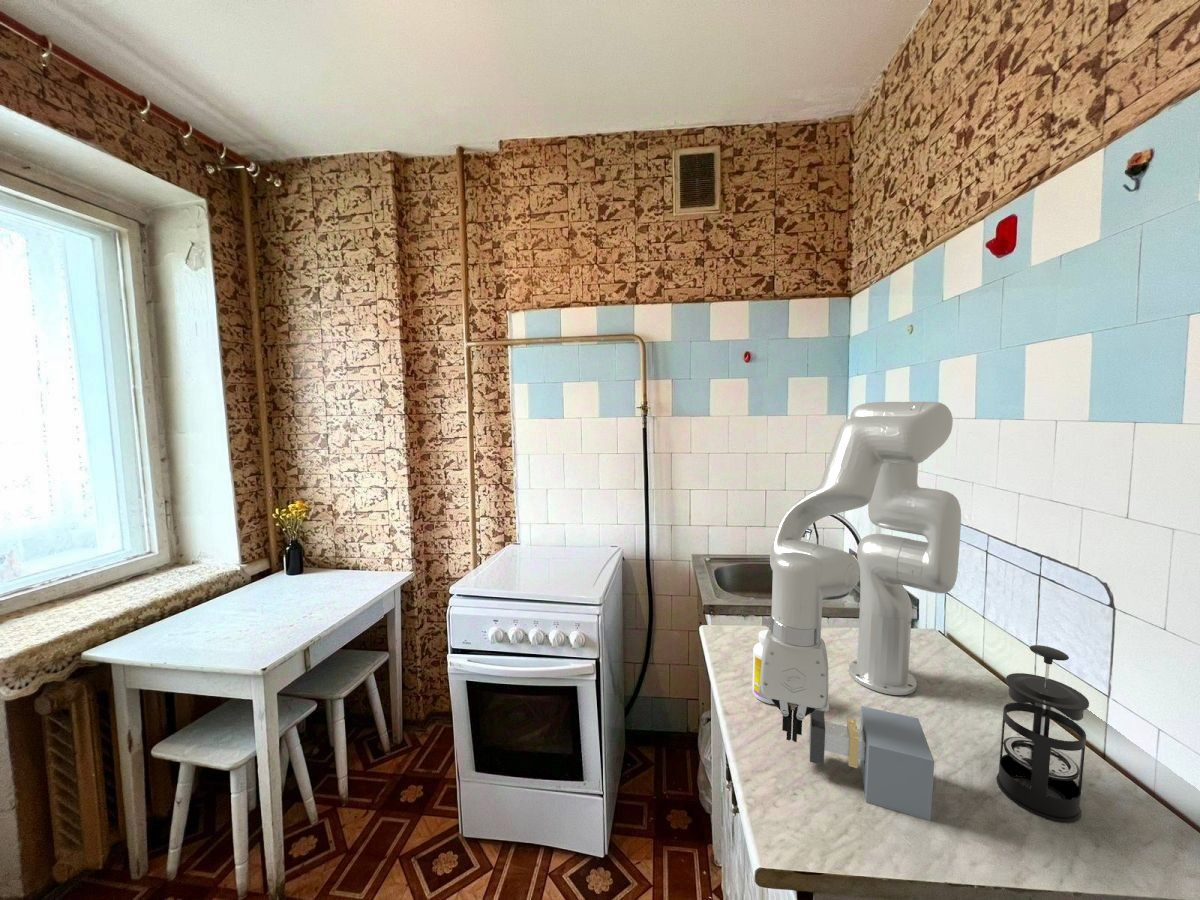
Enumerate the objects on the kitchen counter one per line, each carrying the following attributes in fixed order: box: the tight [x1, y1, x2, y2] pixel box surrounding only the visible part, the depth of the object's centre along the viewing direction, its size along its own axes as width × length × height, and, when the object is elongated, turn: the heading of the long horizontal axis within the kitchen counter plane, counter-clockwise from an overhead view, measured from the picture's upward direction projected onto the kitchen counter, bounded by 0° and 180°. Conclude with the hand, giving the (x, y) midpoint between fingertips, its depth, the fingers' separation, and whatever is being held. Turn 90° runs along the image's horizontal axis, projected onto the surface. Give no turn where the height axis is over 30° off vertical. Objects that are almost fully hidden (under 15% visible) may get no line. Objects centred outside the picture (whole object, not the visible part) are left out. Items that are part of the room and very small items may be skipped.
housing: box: [858, 705, 935, 822], centre depth 72 cm, size 10×8×9 cm
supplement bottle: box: [751, 629, 775, 705], centre depth 95 cm, size 7×7×13 cm
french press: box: [995, 644, 1090, 824], centre depth 70 cm, size 12×9×23 cm
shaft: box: [808, 711, 866, 769], centre depth 74 cm, size 6×14×6 cm, turn 67°
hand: (791, 735), depth 78 cm, fingers closed
